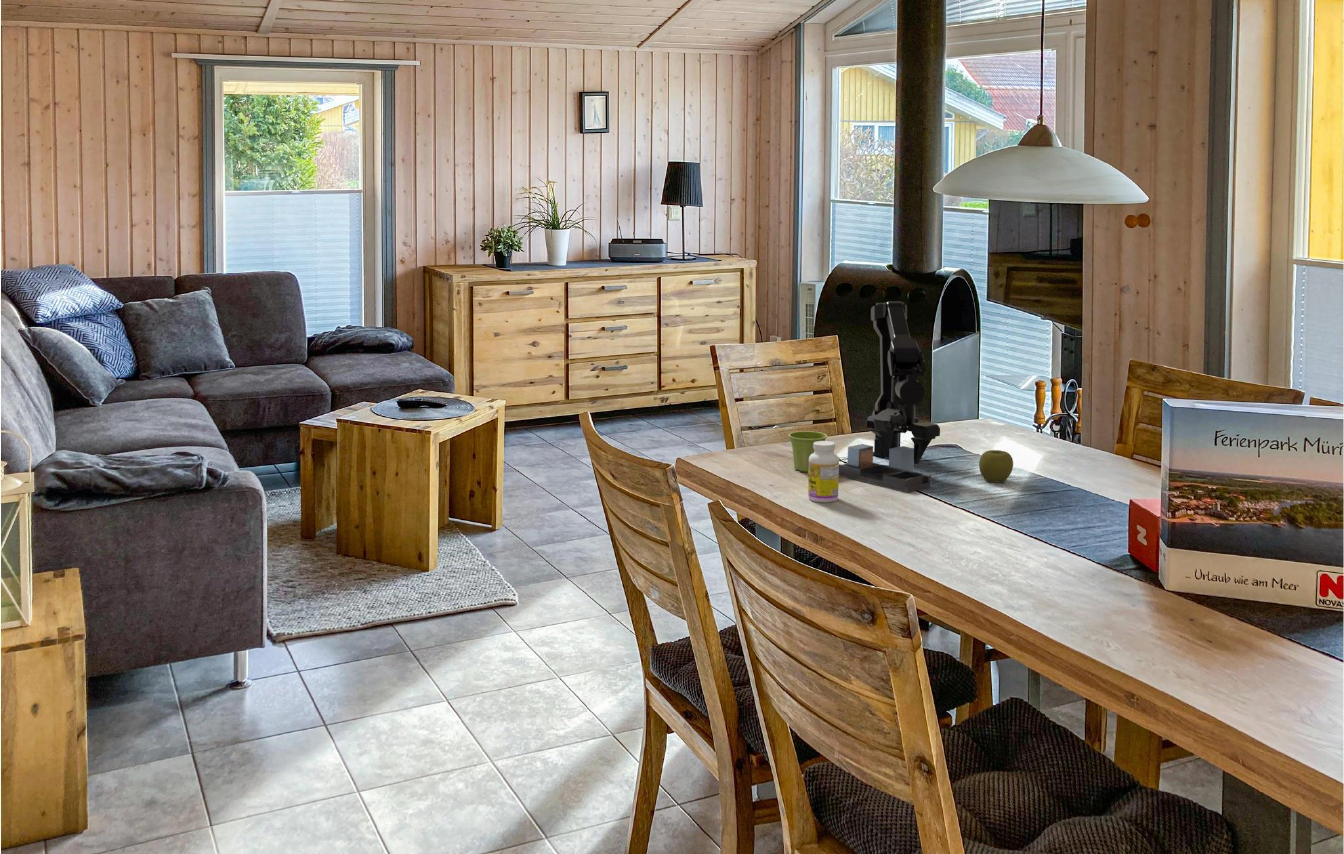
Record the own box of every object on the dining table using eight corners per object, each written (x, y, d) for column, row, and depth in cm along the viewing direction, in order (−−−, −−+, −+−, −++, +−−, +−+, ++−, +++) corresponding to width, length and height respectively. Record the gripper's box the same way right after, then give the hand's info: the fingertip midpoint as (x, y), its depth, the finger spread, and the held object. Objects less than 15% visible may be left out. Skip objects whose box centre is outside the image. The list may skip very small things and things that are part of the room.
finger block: (901, 469, 294) (901, 445, 293) (913, 472, 291) (914, 448, 290) (887, 472, 291) (888, 448, 289) (899, 475, 288) (900, 451, 286)
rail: (859, 470, 293) (860, 441, 292) (930, 487, 276) (931, 456, 275) (836, 475, 288) (837, 445, 287) (907, 492, 271) (908, 461, 270)
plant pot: (826, 465, 299) (826, 431, 297) (827, 474, 289) (827, 439, 288) (788, 464, 299) (788, 430, 298) (788, 473, 290) (788, 438, 289)
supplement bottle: (805, 496, 269) (806, 440, 266) (834, 495, 269) (835, 439, 267) (811, 503, 262) (812, 446, 260) (841, 502, 263) (842, 445, 260)
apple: (994, 486, 276) (996, 456, 275) (970, 479, 283) (972, 450, 282) (1019, 483, 280) (1020, 453, 278) (995, 476, 286) (996, 446, 285)
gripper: (851, 396, 289) (850, 459, 292) (911, 406, 275) (909, 472, 278) (882, 391, 296) (880, 452, 299) (942, 401, 282) (940, 465, 285)
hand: (901, 460), depth 290 cm, fingers open, 9 cm apart
